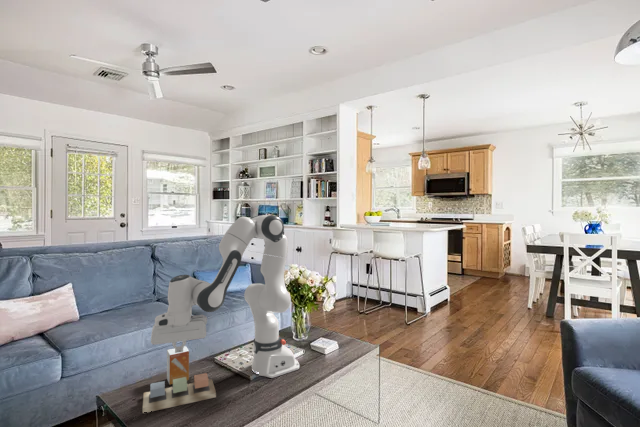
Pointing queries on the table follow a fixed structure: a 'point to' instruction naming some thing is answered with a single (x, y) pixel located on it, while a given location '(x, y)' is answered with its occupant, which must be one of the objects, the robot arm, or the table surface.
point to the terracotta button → (201, 380)
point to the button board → (178, 397)
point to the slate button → (157, 389)
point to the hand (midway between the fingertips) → (179, 351)
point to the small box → (177, 364)
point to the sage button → (179, 385)
